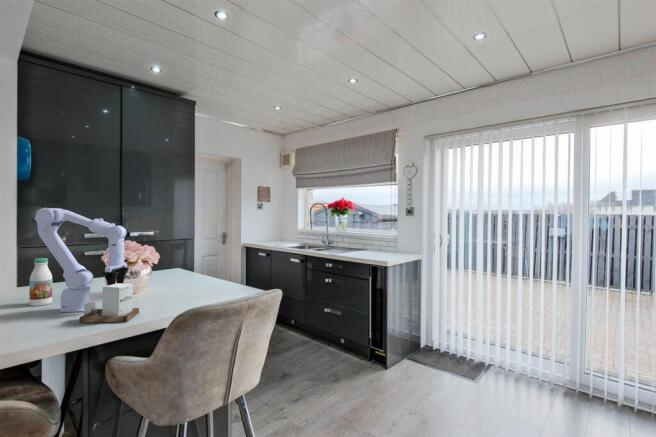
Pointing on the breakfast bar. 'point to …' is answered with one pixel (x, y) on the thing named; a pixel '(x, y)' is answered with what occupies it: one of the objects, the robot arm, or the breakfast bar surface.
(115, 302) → the supplement box
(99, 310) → the wooden serving tray
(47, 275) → the milk bottle
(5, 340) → the breakfast bar surface
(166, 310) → the breakfast bar surface
